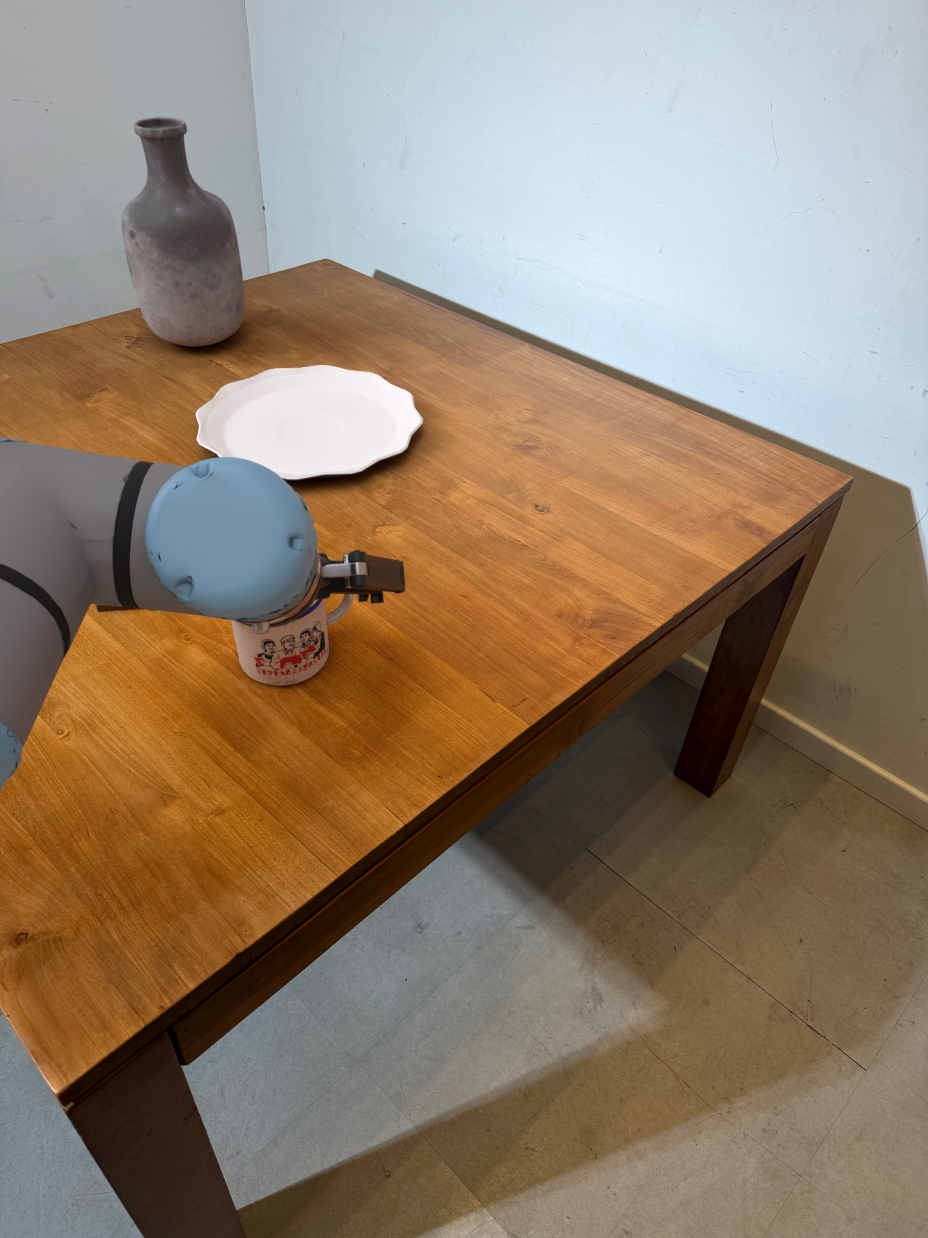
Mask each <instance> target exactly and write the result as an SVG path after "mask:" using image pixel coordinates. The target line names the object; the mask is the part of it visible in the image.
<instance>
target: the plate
mask: <svg viewBox="0 0 928 1238" xmlns="http://www.w3.org/2000/svg"><path fill="white" fill-rule="evenodd" d="M414 399H415V398H414V395H413V394H412V393H411V392H410V391H408V390H407V389H404V388H402V387H399V386H396V385H395V384H391V382H389V381H388V380H386V379H385V378H383V376H381V375H380V374H377V373H374V372H369V371H363V370H362V371H361V370H351V369H345V368H342V367H338V366H333V365H329V364H318V365H309V366H303V367H278V368H277V367H275V368H271V369H267V370H264V371H262V372H260V373H257V374H255V375H253V376H250V377H247V378H244V379H240V380H236V381H232V382H229V383H227V384H225V385H223V386H222V387H220V388H219V389H218V391H217V392H216V393H215V395H214V396H213V397H212V399H210V400H209V401H208V402H206V403H205V404H204V405H202V406H201V407H199V408H198V409H197V410H196V412H195V417H196V421H197V423H198V431H197V436H196V439H195V440H196V442H197V444H198V445H199V447H201V448H203V449H204V450H207V451H208V452H210V453H212V454H214V455H216V456H217V457H235V458H241V459H246V460H250V461H253V462H256V463H258V464H261V465H263V466H265V467H267V468H268V469H270V470H272V471H273V472H275V473H276V474H278V475H279V476H280V477H281V478H282V479H284V480H285V481H296V482H297V481H302V480H316V479H317V480H318V479H319V480H320V479H321V480H322V479H327V478H332V477H333V478H334V477H345V476H352V475H356V474H360V473H362V472H364V471H366V470H368V469H369V468H371V467H373V466H374V465H376V464H379V463H380V462H383V461H385V460H388V459H391V458H394V457H396V456H399V455H402V454H404V453H405V451H407V450H408V448H409V445H410V441H411V439H412V437H413V435H415V434H416V433H417V431H419V430H420V428H421V427H422V426H423V422H424V418H423V417H422V415H421V414H420V412H419V411H418V410H417V409H416V407H415V402H414V401H415V400H414Z"/></svg>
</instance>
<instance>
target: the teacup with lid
mask: <svg viewBox="0 0 928 1238" xmlns="http://www.w3.org/2000/svg"><path fill="white" fill-rule="evenodd" d="M354 598H355V594H343V597H342V600H341V602H340V603H339V605H338V606H337V607H336V608H335V609H334V610H332V611H330V612H328V613H326V612H327V611H326V602H325V599H320V600H315V601H314V602H313V604H312V605H311V606H310V608H309V609H308V610H307V611H306V612H305V613H304V614H303V615H301V616H300V617H299V618H297V619H296V620H294V621H292V622H290V623H288V624H285V625H282V626H278V627H272V628H269V631H268V632H267V633H266V634H256V633H255V632H253V629H252V626H249V625H246V624H243V623H240V622H237V621H234V620H230V622H231V627H232V632H233V637H234V641H235V642H234V643H235V646H236V651H237V656H238V661H239V664H240V667H241V669H242V670H243V672H244V673H245V674H246V675H247V676H248V677H250V678H251V679H252V680H254V681H257V682H258V683H261V684H263V685H268V686H277V687H278V686H279V687H280V686H282V687H283V686H291V685H297V684H298V683H303V682H305V681H307V680H308V679H310V678H312V677H314V676H315V675H316V674H317V673H319V671H321V669H323V667H324V666H325V664H326V663H327V661H328V658H329V656H330V655H329V654H330V644H329V631H328V626H331V625H333V624H336V623H339V621H341V620H343V619H344V618H345V616H347V614H348V613H349V612H350V610H351V609H352V606H353V603H354Z"/></svg>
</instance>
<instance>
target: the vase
mask: <svg viewBox="0 0 928 1238" xmlns="http://www.w3.org/2000/svg"><path fill="white" fill-rule="evenodd" d="M133 130H134V133H135V135H137V136H138V137H139V139H140V142H141V146H142V149H143V153H144V158H145V164H146V171H147V176H146V182H145V185H144V187H143V188H142V190H141V192H139V193H138V194H136V195H134V196H132V197H131V198H129V200H128V201H126V203H124V206H123V208H122V211H121V217H120V224H121V225H120V226H121V227H120V228H121V235H122V241H123V247H124V252H125V257H126V263H127V265H128V266H127V267H128V270H129V274H130V279H131V282H132V286H133V289H134V293H135V296H136V300H137V304H138V306H139V310H140V312H141V314H142V317H143V319H144V321H145V324H146V325H147V327H148V328H149V329H150V330H151V332H152V333H153V334H154V335H156V337H158V338H160V339H162V340H163V341H166V342H168V343H171V344H173V345H178V346H184V347H190V348H191V347H195V348H196V347H197V348H198V347H206V346H211V345H214V344H217V343H220V342H222V341H224V340H226V339H228V338H229V337H231V336H233V335H234V334H235V333H236V332H237V331H238V329H239V328H240V327H241V325H242V323H243V319H244V315H245V290H244V289H245V288H244V276H243V269H242V261H241V253H240V247H239V241H238V236H237V235H238V234H237V231H236V226H235V222H234V218H233V215H232V212H231V209H229V206H228V205H227V204H226V203H225V201H224V200H223V199H222V198H221V197H219V196H218V195H216V194H214V193H212V192H210V191H207V190H206V189H203V188H202V187H201V186H200V185H199V184H198V183H197V182H196V180H195V179H194V178H193V176H192V174H191V171H190V169H189V164H188V160H187V159H188V158H187V151H186V143H185V134H187V132H188V126H187V123H186V121H185V120H182V119H180V118H176V117H165V116H155V117H147V118H141V119H138V120H136V121H135V122H134V123H133Z"/></svg>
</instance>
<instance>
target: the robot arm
mask: <svg viewBox="0 0 928 1238" xmlns="http://www.w3.org/2000/svg"><path fill="white" fill-rule="evenodd" d="M314 520H315V519H314V518H313V517H312V515H311V512H310V509H309V507H308V506H307V504H306V502H305V500H304V499H303V498H302V496H301V495H300V494H299V493H298V492H296V491H295V490H294V489H293V486H290V484H289V483H288V482H287V481H286V480H284V479H282V478H281V477H280V476H279V475H278V474H276V473H275V472H273V471H272V470H270V469H268V468H267V467H265V466H263V465H261V464H258V463H256V462H253V461H250V460H246V459H241V458H235V457H218V456H217V457H211V458H207V459H204V460H199V461H197V462H195V463H192V464H189V465H187V466H186V465H181V464H174V463H167V462H161V461H157V462H150V461H145V460H139V459H134V458H133V459H132V458H128V457H127V458H126V457H121V456H114V455H107V454H101V453H97V452H96V453H95V452H89V451H82V450H77V449H70V448H66V447H65V448H64V447H58V446H51V445H45V444H41V443H40V444H39V443H33V442H28V441H25V440H21V439H18V438H7V437H1V436H0V793H1V792H2V790H3V788H4V787H5V784H6V782H7V780H9V779H11V778H12V777H13V776H14V774H15V773H16V772H17V770H18V768H19V767H20V765H21V762H22V755H23V750H24V748H25V745H26V743H27V741H28V738H29V736H30V734H31V731H32V730H33V727H34V725H35V722H36V721H37V718H38V716H39V714H40V711H41V709H42V707H43V705H44V703H45V701H46V698H47V696H48V694H49V692H50V689H51V687H52V686H53V683H54V682H55V679H56V676H57V675H58V672H59V669H60V668H61V665H62V663H63V661H64V659H65V657H66V656H67V654H68V653H69V651H70V649H71V647H72V645H73V643H74V641H75V638H76V636H77V634H78V632H79V630H80V627H81V625H82V624H83V621H84V619H85V617H86V615H87V613H88V610H89V608H90V606H91V605H96V604H99V605H109V606H119V607H129V608H137V609H136V610H143V609H145V610H148V611H151V612H152V611H153V612H155V611H160V612H167V613H176V614H185V615H193V616H200V617H209V618H213V619H222V620H226V621H227V620H228V621H231V620H234V621H237V622H240V623H243V624H246V625H249V626H252V629H253V632H255V633H256V634H266V633H267V632H268V631H269V628H272V627H278V626H282V625H285V624H288V623H290V622H292V621H294V620H296V619H297V618H299V617H300V616H301V615H303V614H304V613H305V612H306V611H307V610H308V609H309V608H310V606H311V605H312V604H313V602H314V601H315V600H320V599H324V600H326V599H327V600H328V599H329V598H330V597H331V595H344V594H354V595H357V601H358V603H365V602H366V603H367V602H368V600H369V598H370V604H371V605H372V604H382V603H385V598H384V593H385V592H386V593H394V594H402V593H404V592H407V590H406V577H405V576H406V575H405V564H404V560H400V559H393V558H388V557H384V556H383V557H382V556H378V555H377V556H376V555H371V554H368V553H367V552H366V551H362V550H360V549H354V550H352V551H350V552H348V553H347V554H343V555H342V560H332V559H329V557H328V555H327V554H326V553H324V552H320V549H319V547H318V533H317V531H316V529H315V526H314V523H315V521H314Z"/></svg>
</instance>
